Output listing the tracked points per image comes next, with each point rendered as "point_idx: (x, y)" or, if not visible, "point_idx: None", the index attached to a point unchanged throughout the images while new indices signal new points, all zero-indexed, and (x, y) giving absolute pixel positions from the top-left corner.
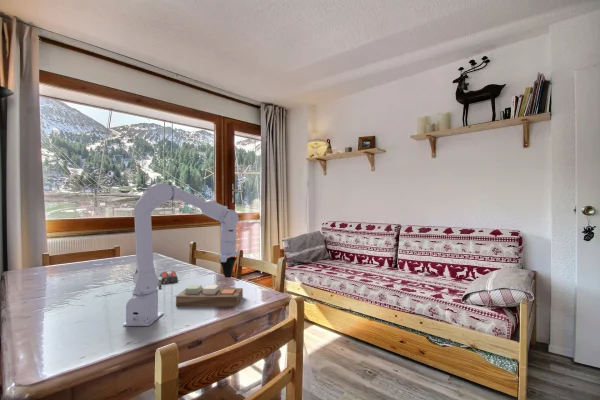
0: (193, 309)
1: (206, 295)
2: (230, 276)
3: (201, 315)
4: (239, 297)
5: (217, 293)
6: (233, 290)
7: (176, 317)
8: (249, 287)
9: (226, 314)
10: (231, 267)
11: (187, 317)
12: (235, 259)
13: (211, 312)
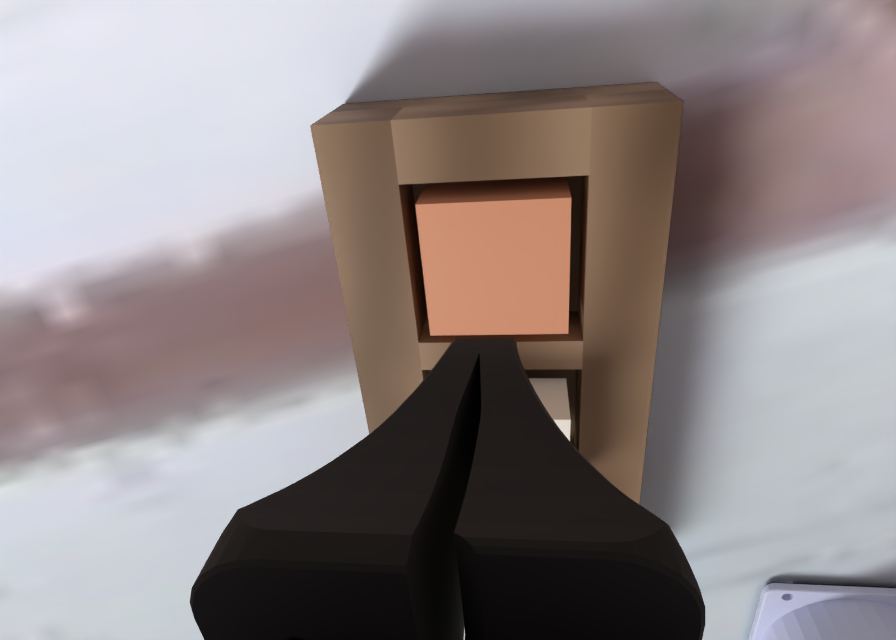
0: (694, 443)
1: (609, 441)
2: (514, 344)
3: (849, 352)
4: (519, 101)
5: (543, 363)
6: (458, 215)
7: (849, 498)
8: (12, 112)
9: (880, 132)
10: (570, 443)
11: (869, 435)
12: (416, 536)
13: (790, 293)
